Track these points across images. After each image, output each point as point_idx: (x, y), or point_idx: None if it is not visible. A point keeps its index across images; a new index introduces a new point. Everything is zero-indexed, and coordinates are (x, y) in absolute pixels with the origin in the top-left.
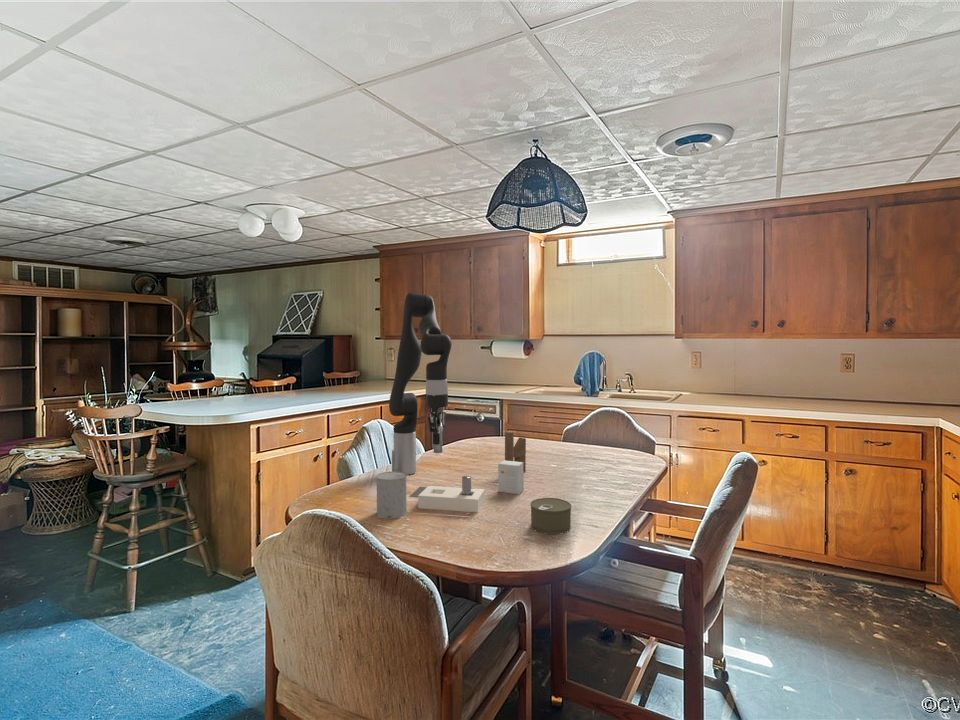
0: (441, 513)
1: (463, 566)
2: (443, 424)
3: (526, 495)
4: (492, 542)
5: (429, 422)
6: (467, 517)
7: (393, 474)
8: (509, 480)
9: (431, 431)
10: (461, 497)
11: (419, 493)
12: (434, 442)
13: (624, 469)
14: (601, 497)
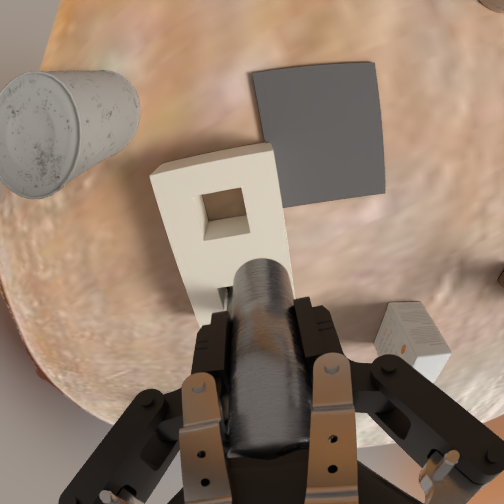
0: (164, 240)
1: (27, 348)
2: (380, 426)
3: (368, 355)
4: (101, 365)
5: (84, 472)
6: (173, 304)
7: (49, 124)
8: (390, 348)
9: (139, 404)
10: (199, 303)
11: (300, 91)
12: (202, 333)
13: (497, 400)
14: (371, 427)
